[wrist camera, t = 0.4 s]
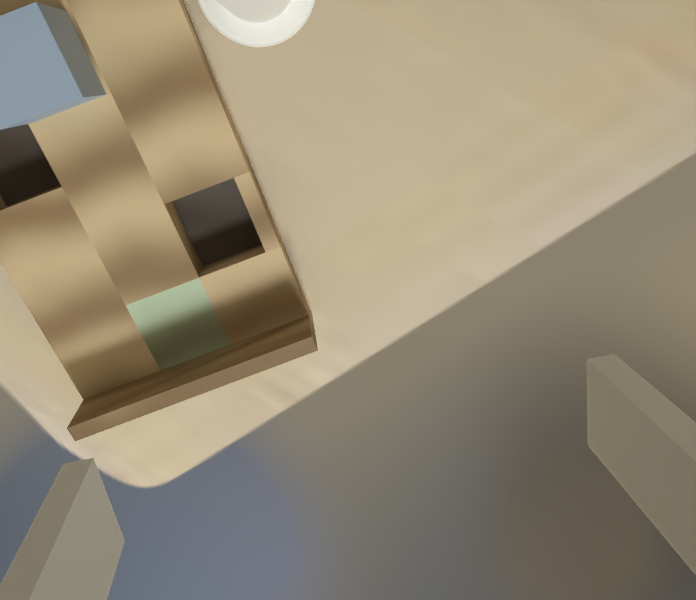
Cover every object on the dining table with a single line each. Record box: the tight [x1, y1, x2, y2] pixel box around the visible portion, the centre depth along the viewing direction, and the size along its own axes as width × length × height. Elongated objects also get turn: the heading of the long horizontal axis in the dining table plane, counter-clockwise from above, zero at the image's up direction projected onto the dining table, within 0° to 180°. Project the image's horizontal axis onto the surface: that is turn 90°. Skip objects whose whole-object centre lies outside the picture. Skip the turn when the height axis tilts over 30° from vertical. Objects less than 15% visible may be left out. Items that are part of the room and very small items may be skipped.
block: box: [0, 2, 107, 130], centre depth 31 cm, size 4×4×4 cm
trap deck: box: [0, 0, 318, 441], centre depth 36 cm, size 24×16×6 cm, turn 20°
